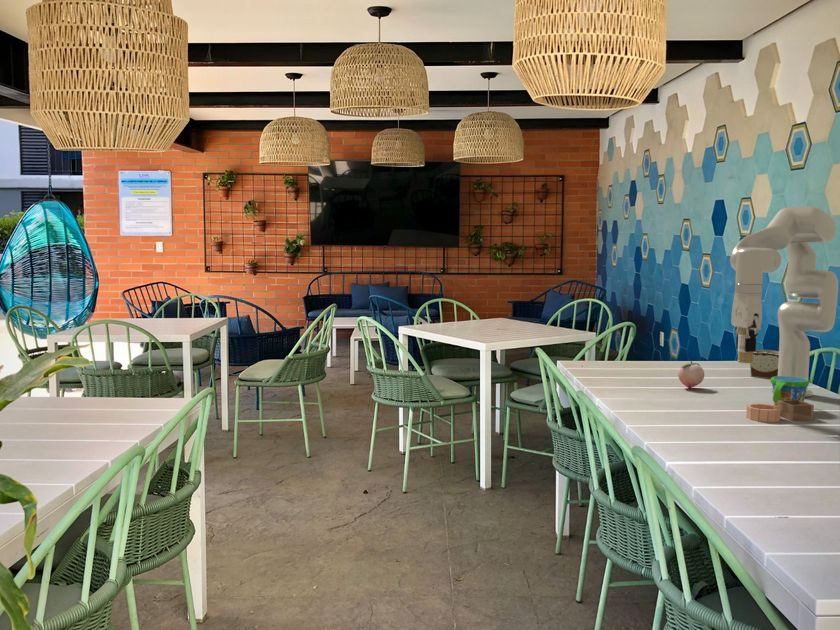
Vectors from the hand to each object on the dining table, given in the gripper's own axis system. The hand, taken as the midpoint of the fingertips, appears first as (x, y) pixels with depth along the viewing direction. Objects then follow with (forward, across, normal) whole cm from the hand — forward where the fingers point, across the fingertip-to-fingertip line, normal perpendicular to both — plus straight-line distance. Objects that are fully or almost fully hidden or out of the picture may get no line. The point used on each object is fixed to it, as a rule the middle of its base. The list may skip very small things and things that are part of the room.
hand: (745, 349), depth 246 cm
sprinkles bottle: (+4, 0, 0) cm, 4 cm away
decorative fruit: (+20, -39, +2) cm, 44 cm away
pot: (+19, +10, +1) cm, 22 cm away
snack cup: (+20, -1, +16) cm, 25 cm away
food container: (+20, -60, +42) cm, 76 cm away
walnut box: (+19, +10, +11) cm, 24 cm away
